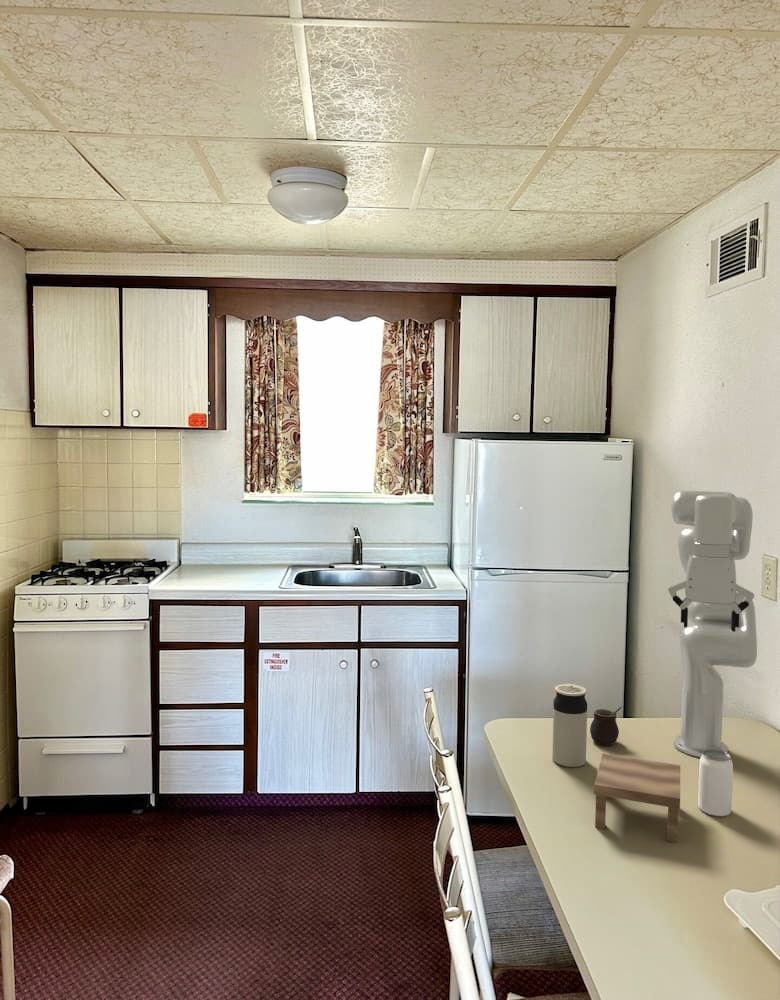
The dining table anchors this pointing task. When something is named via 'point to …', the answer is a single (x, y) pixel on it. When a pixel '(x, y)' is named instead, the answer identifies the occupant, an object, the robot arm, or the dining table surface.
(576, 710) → the travel mug
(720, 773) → the can
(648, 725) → the dining table surface
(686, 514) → the robot arm
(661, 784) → the small wooden table
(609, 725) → the mate gourd
